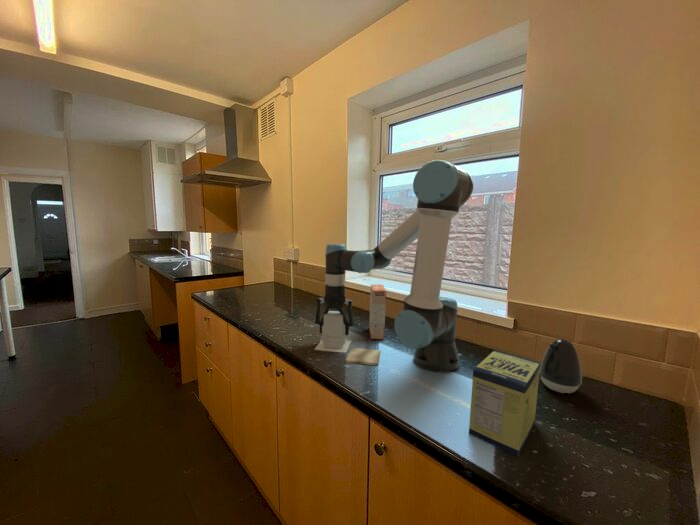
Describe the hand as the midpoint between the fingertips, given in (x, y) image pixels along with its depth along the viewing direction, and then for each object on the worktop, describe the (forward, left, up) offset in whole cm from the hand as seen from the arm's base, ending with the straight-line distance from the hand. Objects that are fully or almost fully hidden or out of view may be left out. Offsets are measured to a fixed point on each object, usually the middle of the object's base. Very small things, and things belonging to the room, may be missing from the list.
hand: (334, 341), depth 117 cm
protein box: (-50, +39, -2) cm, 63 cm away
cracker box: (-15, -17, -2) cm, 23 cm away
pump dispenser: (-72, +16, -2) cm, 74 cm away
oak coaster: (-13, +8, -1) cm, 15 cm away
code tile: (0, 0, -1) cm, 1 cm away
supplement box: (0, 0, -1) cm, 1 cm away
